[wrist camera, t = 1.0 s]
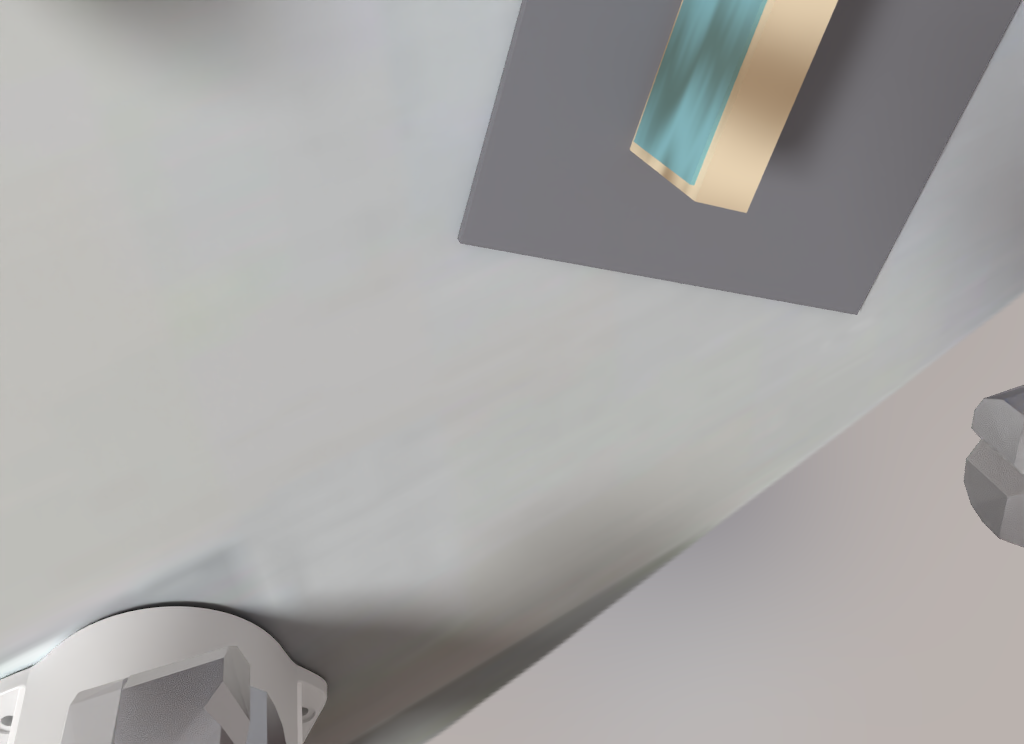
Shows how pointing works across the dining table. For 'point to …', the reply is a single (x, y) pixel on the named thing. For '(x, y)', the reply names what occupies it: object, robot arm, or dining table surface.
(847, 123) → the rubber mat
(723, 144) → the birch tile
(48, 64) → the dining table surface
